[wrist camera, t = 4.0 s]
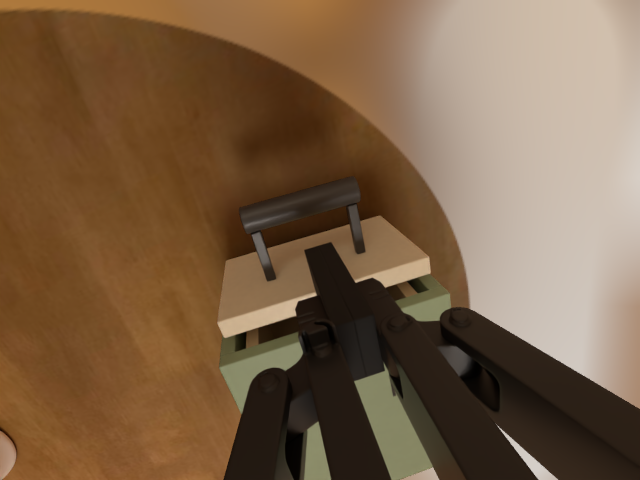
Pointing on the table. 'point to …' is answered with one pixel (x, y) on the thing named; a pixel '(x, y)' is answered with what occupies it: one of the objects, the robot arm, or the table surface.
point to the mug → (6, 455)
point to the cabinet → (374, 391)
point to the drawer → (291, 264)
